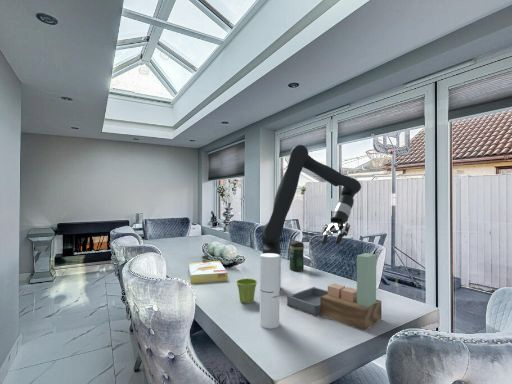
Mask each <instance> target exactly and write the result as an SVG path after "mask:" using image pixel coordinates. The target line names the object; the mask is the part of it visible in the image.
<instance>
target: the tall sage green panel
mask: <svg viewBox="0 0 512 384" xmlns="http://www.w3.org/2000/svg"><path fill="white" fill-rule="evenodd" d="M356 289H357V305H360V306H363V307H367V308H368V307H370V306H371V305H373V304H375V303H376V300H377V254H373V253H368V252H366V253H365V252H364V253H361V254H357V255H356Z"/></svg>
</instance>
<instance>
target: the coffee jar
mask: <svg viewBox="0 0 512 384" xmlns="http://www.w3.org/2000/svg"><path fill="white" fill-rule="evenodd" d="M304 245H305V243H304V242H302V241H298V240H291V241H290V242H289V269H290V270H291V271H293V272H302V271H304V269H305V267H304V265H305V264H304V263H305V262H304V250H305V247H304Z"/></svg>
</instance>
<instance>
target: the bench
mask: <svg viewBox="0 0 512 384" xmlns="http://www.w3.org/2000/svg"><path fill="white" fill-rule="evenodd" d="M319 316H323V317H325V318H328V319H330V320H333V321H337V322H338V323H342V324H344V325H347V326H350V327H352V328H355V329H357V330H360V331H362V332H363V331H364V332H365V331H366V330H368V329H369V328H371V327H373V326H374V325H375V324H377V323H378V322H380V321H381V320H382V300H379V299H376V303H375V304H373V305H371V306H370V307H368V308H367V307H363V306H360V305H357V301H355V302H350V301H347V300H344V299H341V297H340V298H337V297H334V296H330V295H328V294H327V295H324V296H322V297H320V315H319Z"/></svg>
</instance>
